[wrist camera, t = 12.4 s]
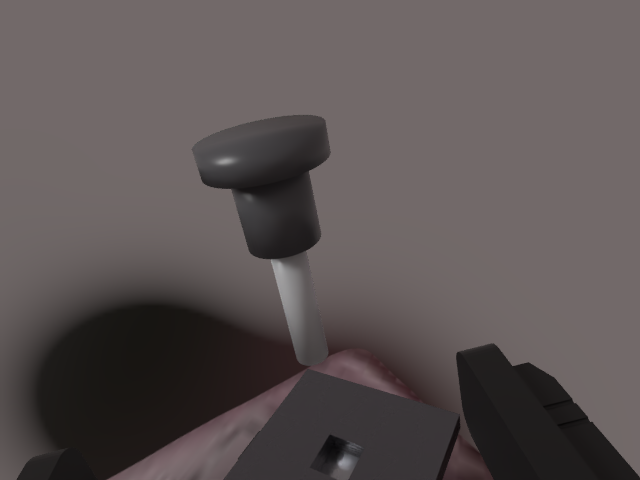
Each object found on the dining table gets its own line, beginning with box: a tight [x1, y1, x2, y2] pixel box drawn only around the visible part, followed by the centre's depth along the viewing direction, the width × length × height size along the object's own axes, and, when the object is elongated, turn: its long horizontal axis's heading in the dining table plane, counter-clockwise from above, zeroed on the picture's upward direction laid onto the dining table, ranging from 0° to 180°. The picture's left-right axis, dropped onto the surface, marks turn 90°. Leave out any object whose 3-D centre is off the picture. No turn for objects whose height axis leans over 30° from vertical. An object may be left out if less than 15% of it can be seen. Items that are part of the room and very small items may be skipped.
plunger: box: [192, 115, 330, 366], centre depth 20 cm, size 5×5×11 cm
